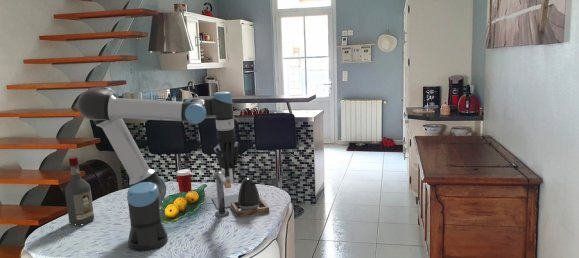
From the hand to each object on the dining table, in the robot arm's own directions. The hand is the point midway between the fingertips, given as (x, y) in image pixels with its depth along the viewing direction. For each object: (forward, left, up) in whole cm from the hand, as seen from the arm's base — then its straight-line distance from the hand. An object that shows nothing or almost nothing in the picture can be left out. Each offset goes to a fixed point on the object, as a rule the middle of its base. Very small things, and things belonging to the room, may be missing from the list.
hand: (230, 183), depth 197 cm
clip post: (-3, +12, -18) cm, 22 cm away
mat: (+4, +27, -18) cm, 33 cm away
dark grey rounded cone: (+10, +12, -18) cm, 24 cm away
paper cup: (-16, +44, -18) cm, 50 cm away
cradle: (+10, +12, -18) cm, 24 cm away
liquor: (-64, +31, -18) cm, 73 cm away
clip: (-2, +4, 0) cm, 5 cm away
